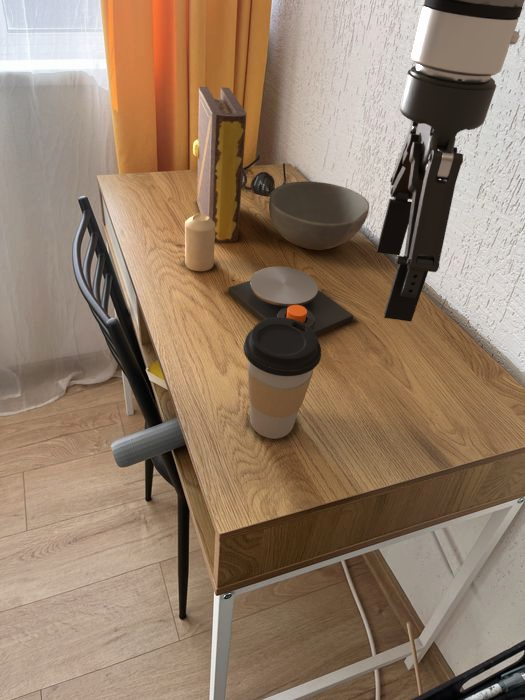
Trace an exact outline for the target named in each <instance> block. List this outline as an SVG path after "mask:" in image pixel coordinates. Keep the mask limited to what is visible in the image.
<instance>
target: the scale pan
mask: <svg viewBox="0 0 525 700" xmlns="http://www.w3.org/2000/svg"><path fill="white" fill-rule="evenodd" d="M249 281H250V287H251V290H252V292H253V293H254V294H255V295H256V296H257V297H258V298H260V299H261V300H263V301H265V302H267V303H270V304H274V305H278V306H285V307H289V306H291V305H304V304H307V303H309V302H311V301H312V300H313V299H314V298H315V297H316V296H317V293H318V290H319V285H318V283H317V281H316V280H315V279H314V278H313V277H312V276H311V275H310V274H308V273H307V272H304V271H302V270H300V269H298V268H293V267H287V266H269V267H265V268H261V269H259V270H258V271H256V272H254V273H253V275H252V276H251V278H250V280H249Z"/></svg>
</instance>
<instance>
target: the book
mask: <svg viewBox="0 0 525 700" xmlns="http://www.w3.org/2000/svg"><path fill="white" fill-rule="evenodd" d="M197 121H198V123H197V124H198V127H197V129H198V130H197V132H198V134H197V139H196V140H194V142H193V145H192V153H193V155H194V156H195V158H197V187H196V188H197V192H196V193H197V195H196V196H197V197H196V198H197V199H196V200H197V201H196V205H197V206H198V209H199V210H198V211H199V213H203V214H204V215H206V216H207V217H209V218H210V219H212V220H213V221H214V223H215V243H232V242H236V241H237V240H238V238H239V230H240V229H239V228H240V216H241V215H240V213H241V197H242V187H243V186H242V185H243V171H244V156H245V153H244V152H245V144H246V143H245V142H246V127H247V112H246V111H245V108H243V106H242V105H241V103H240V102H239V100H238V99H237V97H236V96H235V94H234V92H233V91H232V89H231V87H220V97H219V98H215V97H214V96H213V94H212V93H211V91H210V89H209V87H208V86H198V119H197Z"/></svg>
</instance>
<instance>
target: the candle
mask: <svg viewBox="0 0 525 700" xmlns="http://www.w3.org/2000/svg"><path fill="white" fill-rule="evenodd" d="M215 243H216V242H215V223H214V221H213V220H212V219H210V218H209V217H207V216H206V215H204V214H203V213H200V212H198V213H196V214H193V215H192V216H190V217H188V218H187V219H186V220H185V222H184V263H185V266H186V268H188V269H189V270H191V271H194V272H206V271H209V270H211V269H212V268H213V267H214V264H215V263H214V262H215Z"/></svg>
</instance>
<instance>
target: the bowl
mask: <svg viewBox="0 0 525 700" xmlns="http://www.w3.org/2000/svg"><path fill="white" fill-rule="evenodd" d="M268 211H269V217H270V220H271V223H272V225H273V226H274V228H275V230H276V232H278V234H279V235H280V236H281V237H282V238H284V239H285V240H286V241H288V242H289V243H291V244H293V245H295V246H298V247H300V248H303V249H306V250H307V249H308V250H313V251H315V250H316V251H323V250H330V249H333V248H336V247H338V246H340V245H343V244H346V243H347V242H348V241H350V240H351V239H352V238H353V237H354V236H355V235H356V234H357V233H358V232H359V231H360V230H361V228H362V227H363V226H364V224H365V222H366V220H367V218H368V215H369V211H370V203H369V201H368V199H367V198H366V197H365V196H364V195H362V194H361V193H359V192H356V191H355V190H353V189H350V188H347V187H344V186H341V185H337V184H333V183H328V182H322V181H311V180H307V181H303V180H301V181H292V182H287V183H284V184H281V185H279V186H277V187H276V188H274V189H273V190H272V192H271V193H270V195H269V201H268Z"/></svg>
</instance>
